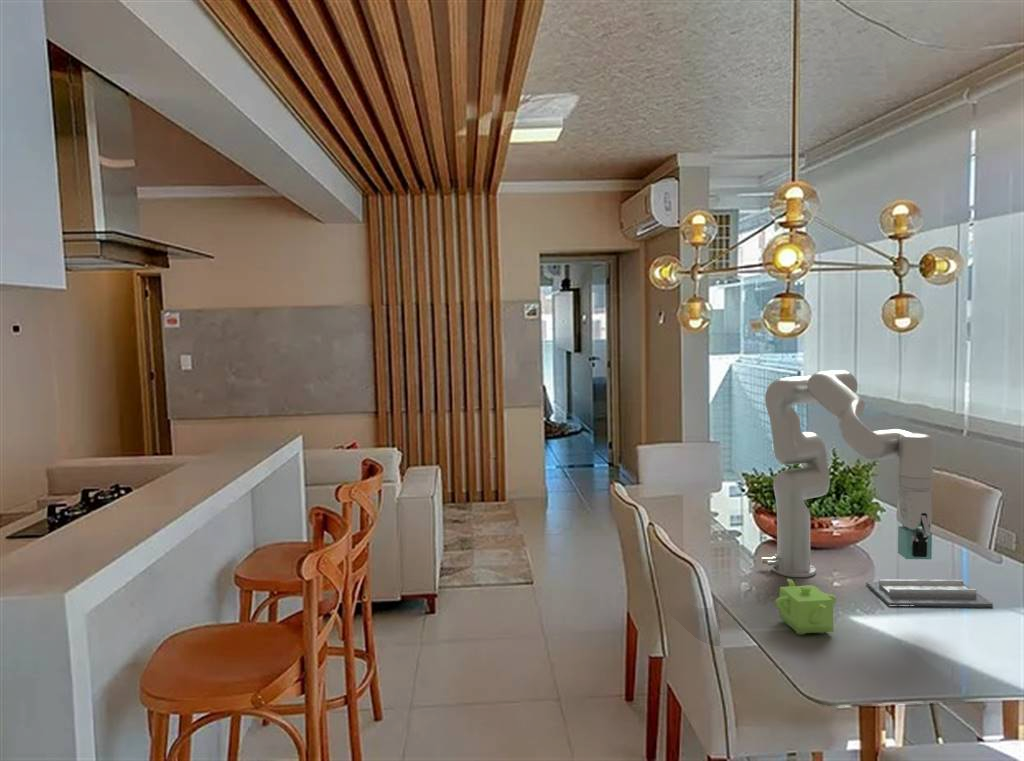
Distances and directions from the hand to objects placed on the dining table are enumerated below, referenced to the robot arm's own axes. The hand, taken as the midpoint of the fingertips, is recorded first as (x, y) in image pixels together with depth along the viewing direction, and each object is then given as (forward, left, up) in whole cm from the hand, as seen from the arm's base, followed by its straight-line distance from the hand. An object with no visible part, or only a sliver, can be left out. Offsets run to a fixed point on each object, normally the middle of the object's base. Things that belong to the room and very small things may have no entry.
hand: (914, 552), depth 184 cm
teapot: (-29, -7, -18) cm, 34 cm away
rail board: (+10, +16, -17) cm, 25 cm away
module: (0, 0, -1) cm, 1 cm away
